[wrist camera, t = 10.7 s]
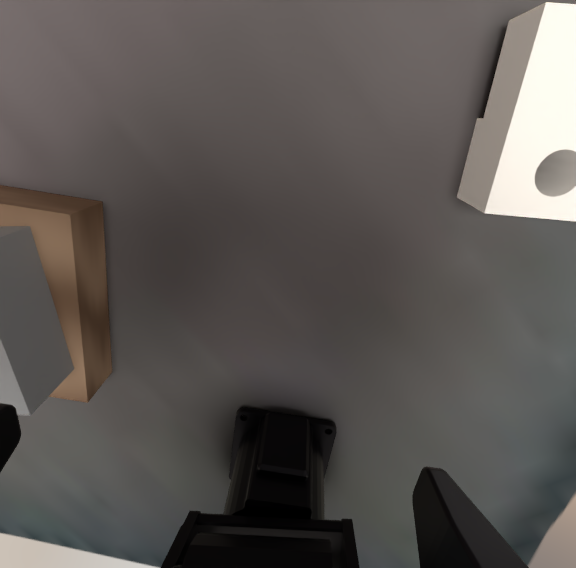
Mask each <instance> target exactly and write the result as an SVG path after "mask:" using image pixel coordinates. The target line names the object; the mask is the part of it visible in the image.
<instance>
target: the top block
mask: <svg viewBox="0 0 576 568" xmlns="http://www.w3.org/2000/svg"><path fill="white" fill-rule="evenodd" d="M73 370H74V366H73V363H72V360H71V356H70V353H69V350H68V347H67V344H66V340H65V337H64V334H63V331H62V328H61V324H60V321H59V318H58V315H57V312H56V308H55V305H54V302H53V299H52V296H51V292H50V289H49V286H48V283H47V280H46V276H45V273H44V270H43V267H42V263H41V260H40V257H39V254H38V251H37V247H36V244H35V241H34V238H33V235H32V231H31V228H30V226H0V403H3V404H10V405H13V406H14V407H15V408H16V411H17V415H31V414H32V413H33V412H34V411H35V410H36V409H37V408H38V407H39V406H40V405H41V404H42V403H43V402H44V401H45V400H46V399H47V397H48V396H49V395H50V394H51V393H52V392H53V391H54V390H55V389H56V388H57V387H58V386H59V385H60V384H61V383H62V382H63V381H64V380H65V378H66V377H67V376H68V375H69V374H70V373H71V372H72V371H73Z"/></svg>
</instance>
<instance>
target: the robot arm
mask: <svg viewBox="0 0 576 568" xmlns="http://www.w3.org/2000/svg"><path fill="white" fill-rule="evenodd" d="M242 415H246V417H244V416H242ZM327 429H330V430H327ZM335 436H336V425H335V424H334V423H333V422H331V421H326V420H319V419H313V418H307V417H301V416H295V415H288V414H282V413H276V412H270V411H263V410H257V409H251V408H240V409H239V410H238V412H237V415H236V421H235V430H234V439H233V447H232V456H231V464H230V473H229V478H230V480H231V483H230V487H229V491H228V496H227V500H226V505H225V509H224V513H223V514H206V513H201V512H200V511H190V512H189V514H188V516H187V518H186V520H185V522H184V524H183V525H182V526H181V528H180V530H179V532H178V534H177V536H176V538H175V540H174V542H173V544H172V546H171V548H170V550H169V552H168V554H167V556H166V558H165V560H164V562H163V564H162V566H161V568H359V562H358V556H357V549H356V542H355V536H354V529H353V523H352V519H342V521H339V520H324V477H325V473H326V469H327V466H328V462H329V458H330V454H331V451H332V447H333V443H334V439H335ZM20 437H21V429H20V424H19V420H18V415H17V411H16V408H15V407H14V406H13V405H10V404H3V403H0V472H1V471H2V469H3V467H4V466H5V464H6V462H7V461H8V459H9V458H10V456H11V454H12V453H13V451H14V450H15V448H16V446H17V445H18V443H19V440H20ZM413 510H414V519H415V527H416V535H417V544H418V552H419V560H420V568H529V567H528V566H527V565H526V564H525V563H524V562H523V561H522V559H521V558H520V557H519V556H518V555H517V554H516V552H515V551H514V550H513V549H512V548H511V547H510V545H509V544H508V543H507V542H506V541H505V540H504V538H503V537H502V536H501V535H500V534H499V533H498V532H497V530H496V529H495V528H494V527H493V526H492V525H491V523H490V522H489V521H488V520H487V519H486V518H485V516H484V515H483V514H482V513H481V512H480V511H479V509H478V508H477V507H476V506H475V505H474V504H473V503H472V501H471V500H470V499H469V498H468V497H467V496H466V494H465V493H464V492H463V491H462V490H461V489H460V487H459V486H458V485H457V484H456V483H455V482H454V480H453V479H452V478H451V477H450V476H449V475H448V474H447V472H446V471H444V470H443V469H440V468H433V467H424V468H423V469H422V471H421V473H420V476H419V478H418V481H417V483H416V486H415V488H414V491H413Z"/></svg>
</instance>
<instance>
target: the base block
mask: <svg viewBox="0 0 576 568" xmlns="http://www.w3.org/2000/svg"><path fill="white" fill-rule="evenodd" d="M0 226H30V228H31V231H32V235H33V238H34V241H35V244H36V247H37V251H38V254H39V257H40V260H41V263H42V267H43V270H44V273H45V276H46V280H47V283H48V286H49V289H50V292H51V296H52V299H53V302H54V305H55V308H56V312H57V315H58V318H59V321H60V324H61V328H62V331H63V334H64V337H65V340H66V344H67V347H68V350H69V353H70V356H71V360H72V363H73V366H74V370H73V371H72V372H71V373H70V374H69V375H68V376H67V377H66V378H65V380H64V381H63V382H62V383H61V384H60V385H59V386H58V387H57V388H56V389H55V390H54V391H53V392H52V393H51V394H50V395H49V397H56V398H62V399H68V400H75V401H81V402H87V403H88V402H89V400H90V399H91V398H92V397H93V395H94V394H95V393H96V392H97V390H98V389H99V388H100V386H101V385H102V384H103V383H104V381H105V380H106V379H107V378H108V376H109V375H110V374H111V372H112V361H111V344H110V326H109V309H108V291H107V274H106V256H105V239H104V221H103V204H102V202H101V201H95V200H89V199H83V198H77V197H70V196H64V195H58V194H52V193H46V192H39V191H33V190H27V189H21V188H15V187H8V186H2V185H0Z"/></svg>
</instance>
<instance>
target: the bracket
mask: <svg viewBox="0 0 576 568" xmlns="http://www.w3.org/2000/svg"><path fill="white" fill-rule="evenodd" d="M457 198H459V199H460V200H462V201H464V202H466V203H467V204H469V205H471V206H473V207H474V208H476V209H478V210H479V211H481V212H483V213H486V214H498V215H509V216H520V217H532V218H543V219H554V220H566V221H576V4H563V3H549V2H546V3H544V4H541V5H539V6H537V7H535V8H533V9H531V10H529V11H527V12H525V13H523V14H521V15H519V16H517V17H515V18H513V19H511V20H509V23H508V27H507V30H506V34H505V38H504V42H503V46H502V49H501V53H500V57H499V61H498V65H497V68H496V72H495V76H494V80H493V83H492V87H491V91H490V95H489V99H488V102H487V106H486V110H485V114H484V118H477V121H476V124H475V128H474V132H473V136H472V140H471V144H470V148H469V152H468V156H467V159H466V163H465V167H464V171H463V175H462V179H461V183H460V187H459V190H458V194H457Z"/></svg>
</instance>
